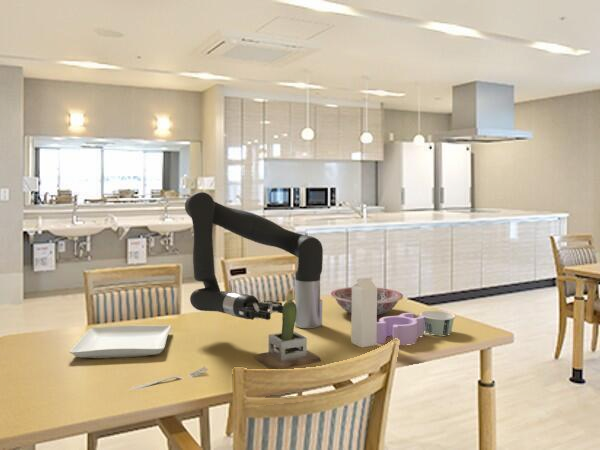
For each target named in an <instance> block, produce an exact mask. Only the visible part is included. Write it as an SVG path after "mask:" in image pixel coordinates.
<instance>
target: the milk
mask: <svg viewBox="0 0 600 450" xmlns="http://www.w3.org/2000/svg"><path fill="white" fill-rule="evenodd" d="M351 287H352V313H350V314H351V316H350V317H351V321H350V322H351V323H350V325H351V328H350V329H351V331H350V336H351V337H350V343H351V344H352V345H353V344H354V345H355V346H358V347H359V348H367V347H373V346H376V345H377V343H376V331H377V322H378V321H377V320H378V315H377V288H378V287H377V286H376V284H374V282H373V277H372V276H369V277H362V278H361V277H360V278H359V277H358V278H357V279H356V283H355V284H354V285H352V286H351Z"/></svg>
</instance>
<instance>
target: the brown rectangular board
mask: <svg viewBox="0 0 600 450" xmlns="http://www.w3.org/2000/svg"><path fill="white" fill-rule="evenodd" d="M300 347H301V346H300ZM254 358H255V360H257V361H259V362H260V363H261V364H263V365H264V366H266V367H267V368H268V369H270V370H271V369H276V370H280V369H279V368H281V369H285V368H286V369H287V368H289V367H296V366H300V365H305V364H310V363H315V362H316V363H317V362H321V359H322V358H321V357H320V356H318V355H317V354H315V353H314V352H311V351H310V350H308V349H307V358H303V359H298V360H292V361H287V362H282V363H281V362H280V361H278V360H277V359H275V358H274V357H272V356H271V355H269V351H266V352H261V353H255V354H254Z"/></svg>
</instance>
